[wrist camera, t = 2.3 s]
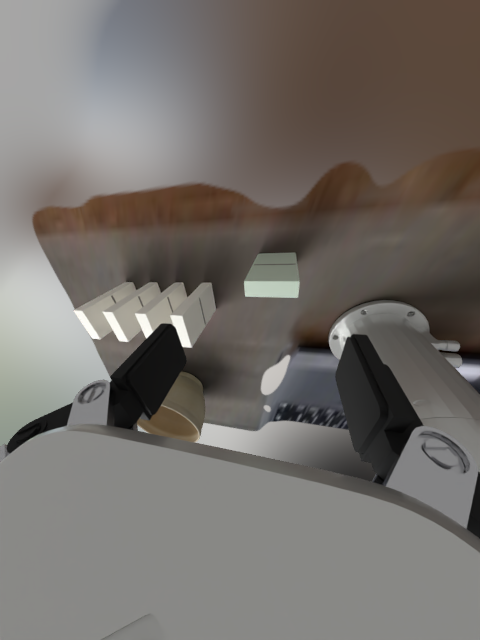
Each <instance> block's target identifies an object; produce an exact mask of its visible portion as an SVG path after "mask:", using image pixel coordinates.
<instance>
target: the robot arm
mask: <svg viewBox="0 0 480 640" xmlns="http://www.w3.org/2000/svg"><path fill="white" fill-rule="evenodd" d="M429 331H430V327H429V323H428V321H427V319H426V317H425V316H424V315H423V314H422V313H421V312H420V311H419V310H418V309H416V308H415V307H413V306H412V305H409V304H407V303H404V302H400V301H394V300H379V301H372V302H368V303H364V304H361V305H359V306H356V307H354V308H352V309H350V310H349V311H347V312H345V313H344V314H343V315H342V316H340V317H339V318H338V319H337V320H336V322H335V323H334V324H333V326H332V328H331V329H330V333H329V345H330V348H331V351H332V353H333V354H334V356H335V357H336V358H338V359H339V360H340V361H339V364H338V368H337V371H336V382H337V386H338V390H339V394H340V398H341V401H342V405H343V409H344V413H345V417H346V420H347V424H348V428H349V432H350V435H351V439H352V443H353V447H354V449H355V451H356V452H359V454H360V457H361V461H364V462H369V463H372V467H373V469H374V472H376V475H375V477H374V479H373V481H372V482H370V481H366V480H363V479H359V478H356V477H351V476H347V475H342V474H338V473H334V472H330V471H325V470H321V469H317V468H312V467H308V466H303V465H298V464H294V463H289V462H284V461H280V460H275V459H270V458H265V457H261V456H256V455H252V454H247V453H242V452H237V451H232V450H227V449H223V448H218V447H213V446H208V445H204V444H199V443H194V442H189V441H184V440H180V439H175V438H170V437H165V436H160V435H155V434H150V433H145V432H140V431H138V429H137V421H138V419H139V418H141V419H143V420H149V421H150V419H151V418H152V416H153V415H155V414H156V413H157V411H158V410H159V408H160V406H161V404H162V403H163V401H164V399H165V398H166V396H167V394H168V393H169V391H170V389H171V387H172V386H173V384H174V382H175V381H176V379H177V377H178V376H179V374H180V372H181V371H182V369H183V367H184V365H185V364H186V356H185V353H184V350H183V347H182V344H181V342H180V339H179V336H178V333H177V330H176V328H175V327H174V326H173V325H172V324H167V323H162V324H160V325H159V326H158V327H157V328H156V329H155V330H154V331H153V332H152V334H151V335H150V336H149V337H148V338H147V339H146V340H145V341H144V342H143V343H142V344H141V345H140V346H139V347H138V348H137V349H136V350H135V351H134V352H133V353H132V354H131V355H130V357H129V358H128V359H127V360H126V361H125V362H124V363H123V364H122V365H121V366H120V367H119V368H118V369H117V370H116V371H115V372H114V373H113V374H112V375H111V376H110V378H111V379H112V381H111V382H110V383H109V382H108V381H107V380H98V381H95V382H92V383H90V384H88V385H87V386H86V387H84V388H83V389H82V390H80V391H79V392H78V394H77V395H76V396H75V399H74V401H73V403H71V404H69V405H67V406H65V407H62V408H60V409H58V410H56V411H53V412H51V413H49V414H47V415H45V416H43V417H40V418H38V419H36V420H34V421H32V422H30V423H28V424H27V425H25V426H24V427H22V428H21V429H20V430H19V431H18V432H17V433H16V434H15V435H14V436H13V437H12V438H11V439H10V441H9V443H8V445H6V444H3V445H2V446H0V640H480V394H479V393H478V392H477V391H476V390H475V389H474V388H473V387H472V386H471V385H470V383H469V382H468V381H467V380H466V379H465V378H464V377H463V376H462V375H461V374H460V373H459V372H458V371H457V370H456V369H455V368H459V367H460V366H461V365H462V359H461V357H460V356H459V355H458V354H452V353H440V352H439V351H438V350H444V351H458V350H459V348H460V344H459V343H458V342H457V341H452V340H437V339H435V338H434V337H433V336H432V335H431V334H430V333H429Z"/></svg>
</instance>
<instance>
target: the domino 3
mask: <svg viewBox="0 0 480 640" xmlns="http://www.w3.org/2000/svg"><path fill="white" fill-rule="evenodd" d="M186 298H187V294H186V291H185V287H184V283H183V282H175V283H173V284H172V285H171V286H169V287H168V288H167V289H166V290H164V291H163V292H162V293H160V294H159V295H158V296H156V297H155V298H154V299H153V300H151V301H150V302H149V303H147V304H146V305H145V306H143V307H142V308H141V309H140V310H138V311H137V312H136V313H135V315H136V318H137V320H138V322H139V324H140V326H141V328H142V330H143V332H144V335H145V337H146V339H147V338H148V337H149V336H150V335H151V334H152V332H153V331H154V330H155V329H156V328H157V327H158V326H159V325H160V324H162V323H167V324H172V325H173V322H172V320H171V317H170V315H171V314H172V313H173V312H174V311H175V310H176V309H177V308H178V307H179V306H180V305H181V304H182V303H183V302H184V300H185V299H186ZM173 326H174V325H173Z"/></svg>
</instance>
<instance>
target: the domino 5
mask: <svg viewBox="0 0 480 640" xmlns="http://www.w3.org/2000/svg"><path fill="white" fill-rule="evenodd" d="M299 282H300V281H299V273H298V265H297V258H296V253H263V254H258V255H257V257H256V259H255V261H254V263H253V265H252V267H251V269H250V271H249V273H248V275H247V277H246V279H245V280H244V287H245V297H286V298H298V292H299Z"/></svg>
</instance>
